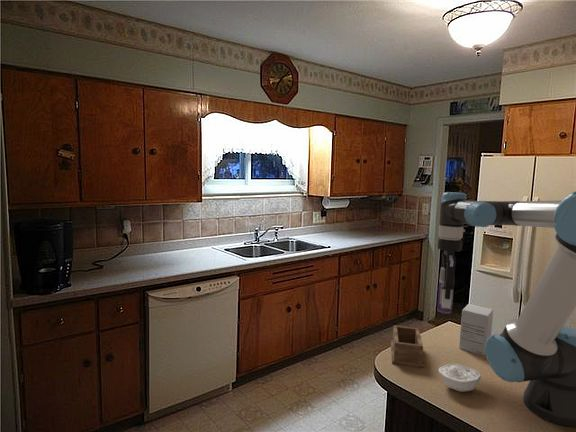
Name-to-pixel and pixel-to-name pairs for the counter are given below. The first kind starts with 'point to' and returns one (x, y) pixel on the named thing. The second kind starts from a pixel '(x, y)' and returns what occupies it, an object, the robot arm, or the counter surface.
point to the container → (440, 294)
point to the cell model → (459, 377)
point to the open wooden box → (407, 346)
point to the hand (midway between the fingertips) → (444, 304)
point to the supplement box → (475, 328)
